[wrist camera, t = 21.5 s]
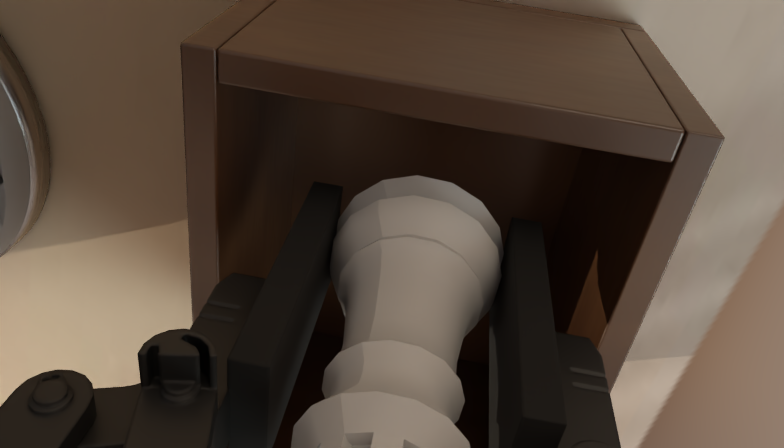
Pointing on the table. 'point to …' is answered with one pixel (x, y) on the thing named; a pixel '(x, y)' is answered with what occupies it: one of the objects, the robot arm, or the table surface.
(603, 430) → the robot arm
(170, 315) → the table surface
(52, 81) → the table surface
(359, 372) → the rook chess piece
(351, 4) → the box
